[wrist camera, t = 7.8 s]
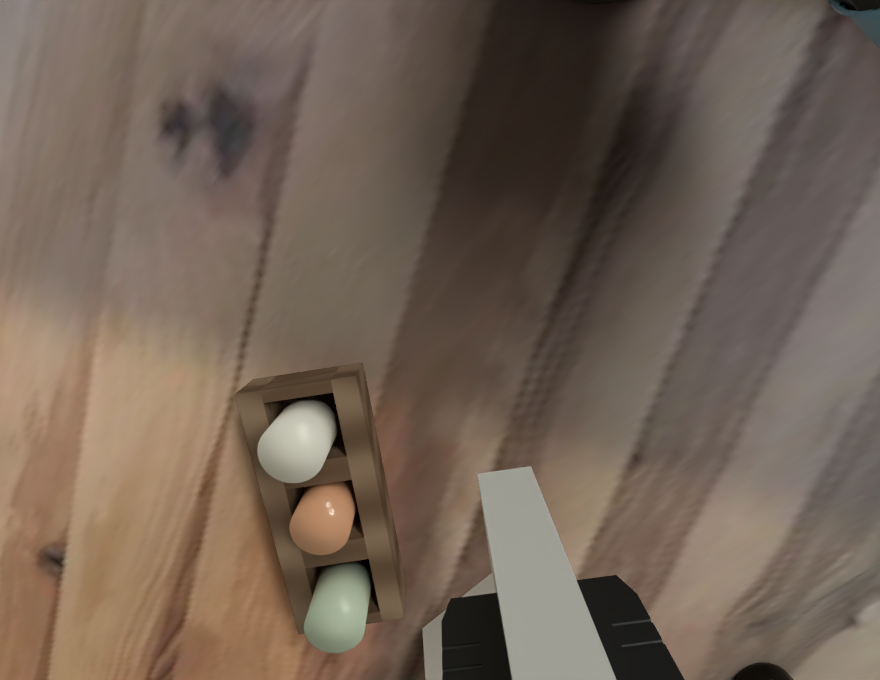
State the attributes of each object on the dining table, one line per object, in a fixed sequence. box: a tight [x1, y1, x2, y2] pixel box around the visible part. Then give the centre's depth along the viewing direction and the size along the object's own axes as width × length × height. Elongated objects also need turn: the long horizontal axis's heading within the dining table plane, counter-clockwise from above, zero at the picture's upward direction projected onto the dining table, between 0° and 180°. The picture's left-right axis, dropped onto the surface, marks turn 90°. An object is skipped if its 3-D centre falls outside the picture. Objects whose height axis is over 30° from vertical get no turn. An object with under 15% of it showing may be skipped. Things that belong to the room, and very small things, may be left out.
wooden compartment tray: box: [235, 363, 406, 634], centre depth 40 cm, size 24×10×4 cm, turn 8°
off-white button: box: [257, 398, 338, 483], centre depth 35 cm, size 5×5×5 cm
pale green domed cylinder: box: [304, 561, 372, 653], centre depth 38 cm, size 5×5×5 cm
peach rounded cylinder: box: [289, 480, 357, 555], centre depth 39 cm, size 5×5×5 cm
